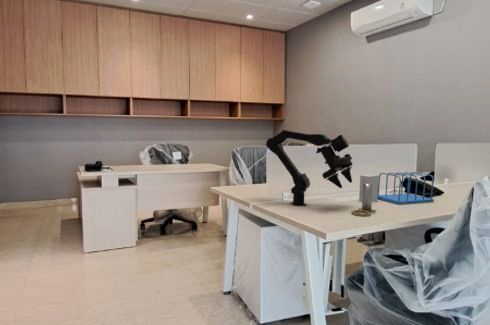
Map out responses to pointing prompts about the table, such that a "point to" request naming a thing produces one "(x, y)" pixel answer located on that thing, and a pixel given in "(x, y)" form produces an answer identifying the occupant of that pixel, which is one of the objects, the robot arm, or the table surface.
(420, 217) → the table surface
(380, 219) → the table surface
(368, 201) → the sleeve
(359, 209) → the stand pad
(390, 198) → the file sorter
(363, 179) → the skincare box
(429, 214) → the table surface
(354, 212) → the hub seat
